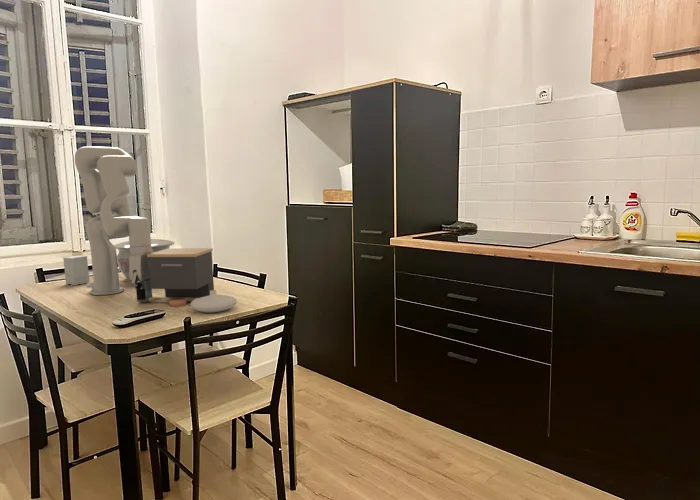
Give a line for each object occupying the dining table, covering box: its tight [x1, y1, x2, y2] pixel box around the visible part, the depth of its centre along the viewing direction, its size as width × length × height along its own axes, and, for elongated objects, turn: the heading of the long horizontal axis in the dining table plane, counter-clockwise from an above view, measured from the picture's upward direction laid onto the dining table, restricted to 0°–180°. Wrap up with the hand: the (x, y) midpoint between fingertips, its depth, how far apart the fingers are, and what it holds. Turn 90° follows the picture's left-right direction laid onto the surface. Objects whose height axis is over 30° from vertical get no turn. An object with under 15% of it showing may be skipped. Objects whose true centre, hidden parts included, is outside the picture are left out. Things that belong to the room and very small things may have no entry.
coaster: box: [168, 298, 187, 308], centre depth 185 cm, size 6×6×2 cm
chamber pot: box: [113, 238, 175, 281], centre depth 237 cm, size 28×28×21 cm
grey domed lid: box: [190, 289, 237, 313], centre depth 176 cm, size 16×16×7 cm
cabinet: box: [147, 247, 215, 298], centre depth 191 cm, size 19×16×19 cm
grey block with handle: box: [136, 279, 197, 303], centre depth 189 cm, size 23×4×8 cm, turn 83°
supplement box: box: [63, 255, 90, 286], centre depth 229 cm, size 7×7×13 cm
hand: (144, 297), depth 190 cm, fingers closed on grey block with handle, 4 cm apart
